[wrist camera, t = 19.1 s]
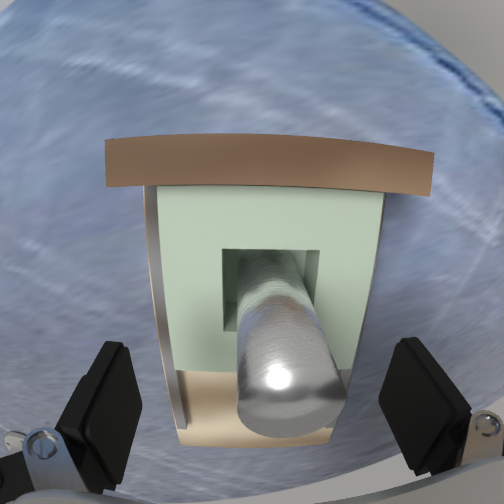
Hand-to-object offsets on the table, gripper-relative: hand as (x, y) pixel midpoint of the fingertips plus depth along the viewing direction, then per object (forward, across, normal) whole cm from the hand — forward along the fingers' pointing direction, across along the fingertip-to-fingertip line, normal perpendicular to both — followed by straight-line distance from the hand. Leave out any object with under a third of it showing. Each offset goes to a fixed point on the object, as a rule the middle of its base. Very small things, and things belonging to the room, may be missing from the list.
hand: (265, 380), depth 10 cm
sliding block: (+9, -1, -1) cm, 9 cm away
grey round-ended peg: (+8, -1, -1) cm, 8 cm away
